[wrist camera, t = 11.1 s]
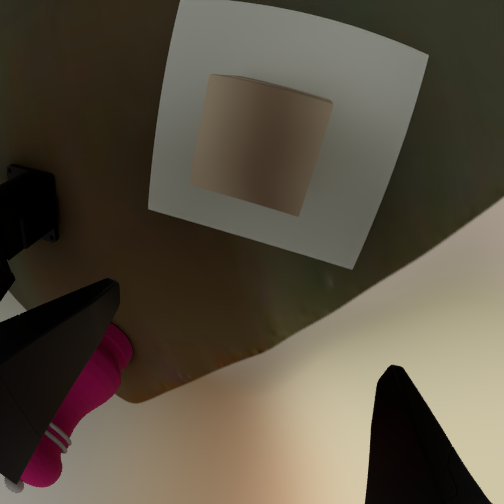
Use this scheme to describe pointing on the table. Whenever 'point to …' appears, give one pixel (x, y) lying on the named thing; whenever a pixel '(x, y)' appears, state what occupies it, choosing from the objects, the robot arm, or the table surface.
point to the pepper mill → (77, 408)
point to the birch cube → (259, 141)
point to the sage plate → (301, 78)
